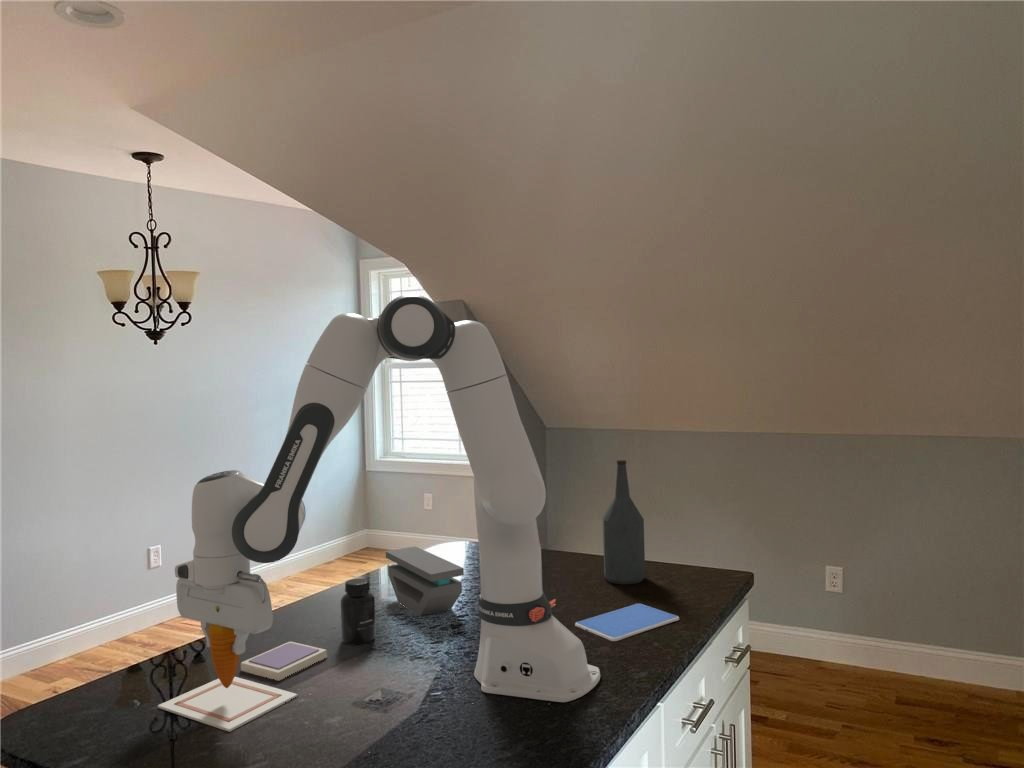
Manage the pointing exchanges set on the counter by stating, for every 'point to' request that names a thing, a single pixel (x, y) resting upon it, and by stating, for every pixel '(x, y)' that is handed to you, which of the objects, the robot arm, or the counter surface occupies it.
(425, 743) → the counter surface
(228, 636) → the carrot
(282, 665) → the ink pad
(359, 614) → the supplement bottle
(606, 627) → the tablet computer
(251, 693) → the print card
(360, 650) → the counter surface
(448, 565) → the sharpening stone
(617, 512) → the bottle
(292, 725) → the counter surface
